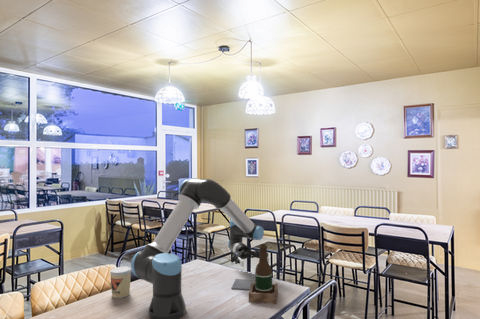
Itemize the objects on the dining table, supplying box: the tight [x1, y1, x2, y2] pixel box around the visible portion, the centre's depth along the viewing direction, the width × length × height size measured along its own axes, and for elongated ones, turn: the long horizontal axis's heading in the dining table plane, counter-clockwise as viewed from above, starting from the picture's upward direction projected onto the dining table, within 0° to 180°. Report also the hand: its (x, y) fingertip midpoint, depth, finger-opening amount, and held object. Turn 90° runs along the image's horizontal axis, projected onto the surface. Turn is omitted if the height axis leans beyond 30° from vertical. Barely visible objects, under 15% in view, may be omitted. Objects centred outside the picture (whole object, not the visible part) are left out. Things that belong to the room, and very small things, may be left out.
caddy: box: [248, 283, 279, 305], centre depth 146 cm, size 12×12×4 cm
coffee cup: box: [109, 265, 132, 299], centre depth 150 cm, size 9×9×12 cm
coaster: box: [231, 278, 255, 291], centre depth 160 cm, size 12×12×1 cm
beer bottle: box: [254, 244, 273, 294], centre depth 146 cm, size 8×8×24 cm
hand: (255, 262), depth 155 cm, fingers open, 13 cm apart
